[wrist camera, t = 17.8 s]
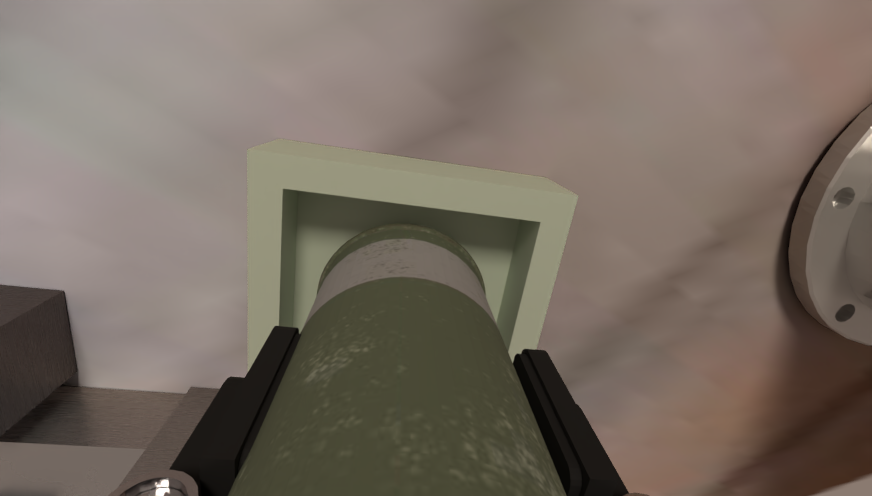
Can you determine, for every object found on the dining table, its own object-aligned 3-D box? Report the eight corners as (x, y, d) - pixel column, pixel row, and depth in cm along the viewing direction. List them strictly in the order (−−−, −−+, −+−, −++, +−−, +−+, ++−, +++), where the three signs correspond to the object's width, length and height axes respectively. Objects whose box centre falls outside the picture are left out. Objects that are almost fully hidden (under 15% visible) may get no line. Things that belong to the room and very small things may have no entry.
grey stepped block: (238, 390, 18) (181, 492, 13) (239, 452, 19) (186, 566, 15) (39, 376, 17) (-97, 481, 12) (53, 442, 18) (-67, 561, 14)
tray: (545, 177, 16) (578, 195, 13) (494, 387, 19) (511, 441, 16) (279, 138, 15) (247, 149, 12) (273, 371, 18) (247, 425, 15)
